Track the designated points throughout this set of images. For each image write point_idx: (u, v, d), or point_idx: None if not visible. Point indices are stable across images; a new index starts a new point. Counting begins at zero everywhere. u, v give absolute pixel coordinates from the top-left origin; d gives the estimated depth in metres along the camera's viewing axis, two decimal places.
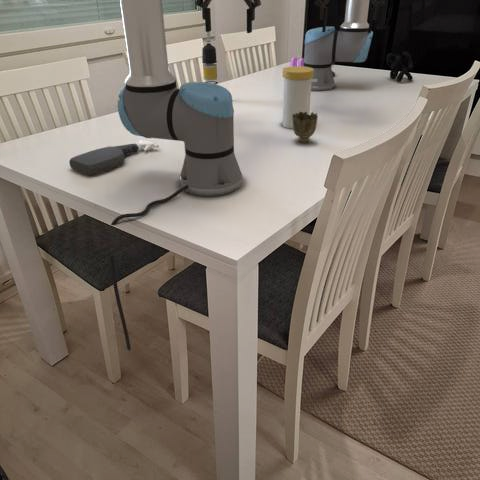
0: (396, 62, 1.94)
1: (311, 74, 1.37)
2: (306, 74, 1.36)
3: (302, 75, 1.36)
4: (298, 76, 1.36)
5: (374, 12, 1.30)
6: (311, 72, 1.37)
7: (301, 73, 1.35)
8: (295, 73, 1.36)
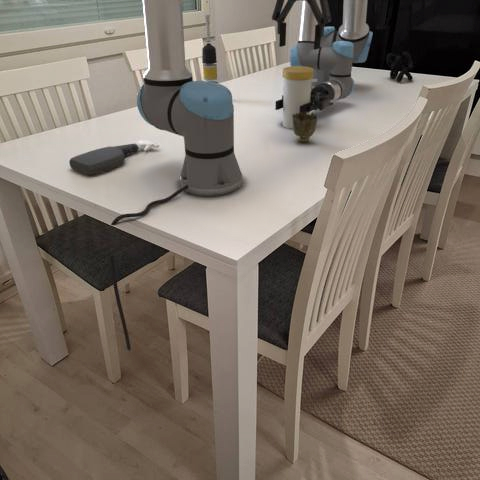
0: (396, 62, 1.94)
1: (311, 74, 1.37)
2: (306, 74, 1.36)
3: (302, 75, 1.36)
4: (298, 76, 1.36)
5: None
6: (311, 72, 1.37)
7: (301, 73, 1.35)
8: (295, 73, 1.36)
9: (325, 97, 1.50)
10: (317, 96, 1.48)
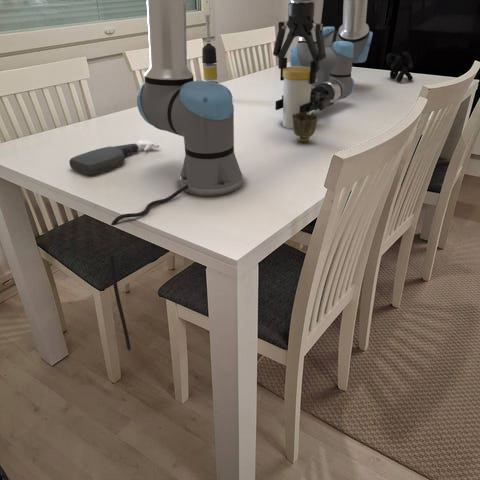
0: (396, 62, 1.94)
1: None
2: (306, 74, 1.36)
3: (302, 75, 1.36)
4: (298, 76, 1.36)
5: None
6: None
7: (301, 73, 1.35)
8: (295, 73, 1.36)
9: (325, 97, 1.50)
10: (317, 96, 1.48)
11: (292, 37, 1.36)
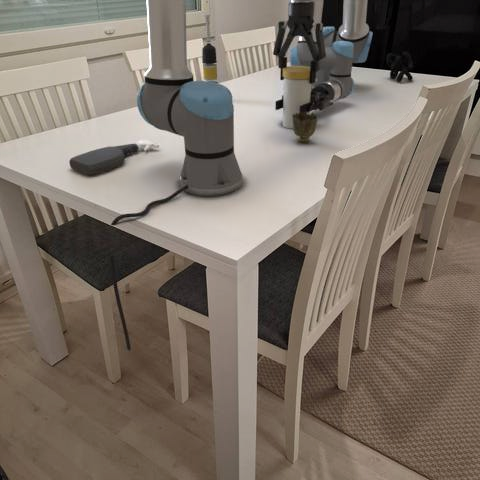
0: (396, 62, 1.94)
1: None
2: None
3: None
4: None
5: None
6: None
7: None
8: None
9: (325, 97, 1.50)
10: (317, 96, 1.48)
11: (292, 37, 1.35)
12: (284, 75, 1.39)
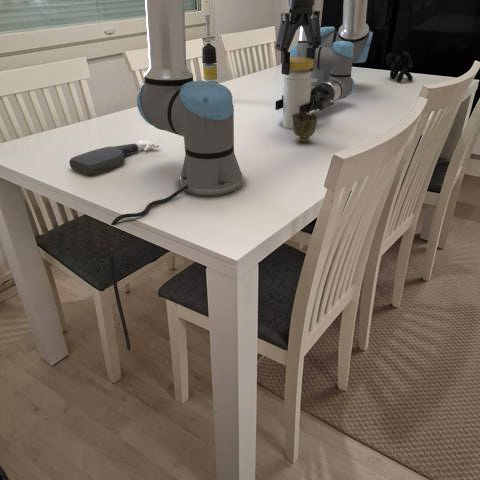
0: (396, 62, 1.94)
1: None
2: None
3: None
4: None
5: None
6: None
7: None
8: None
9: (325, 97, 1.50)
10: (317, 96, 1.48)
11: None
12: (300, 68, 1.34)
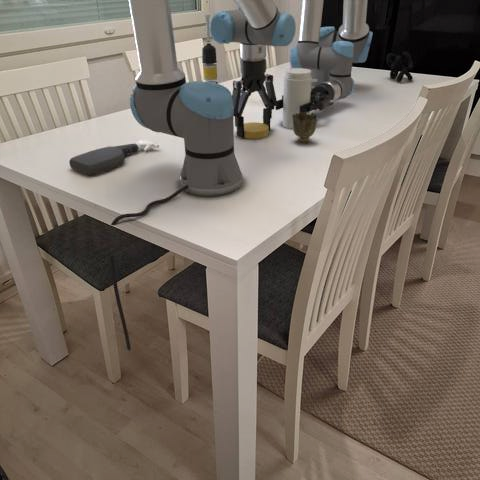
0: (396, 62, 1.94)
1: None
2: None
3: None
4: None
5: None
6: None
7: None
8: None
9: (325, 97, 1.50)
10: (317, 96, 1.48)
11: None
12: (254, 136, 1.37)
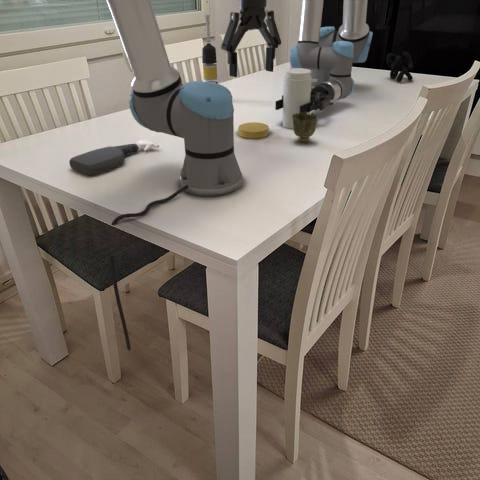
0: (396, 62, 1.94)
1: None
2: None
3: None
4: None
5: None
6: None
7: None
8: None
9: (325, 97, 1.50)
10: (317, 96, 1.48)
11: None
12: (254, 136, 1.37)
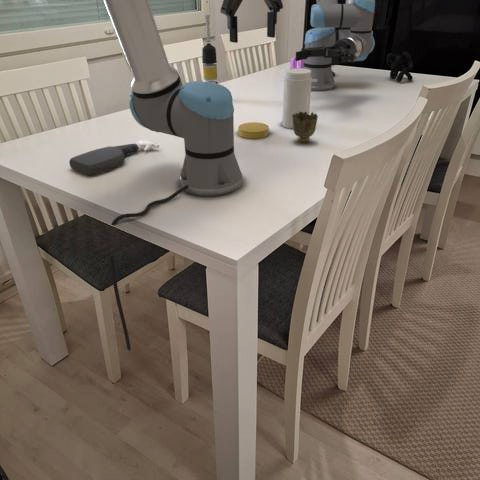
0: (396, 62, 1.94)
1: None
2: None
3: None
4: None
5: None
6: None
7: None
8: None
9: (348, 51, 1.51)
10: (342, 49, 1.49)
11: None
12: (254, 136, 1.37)
